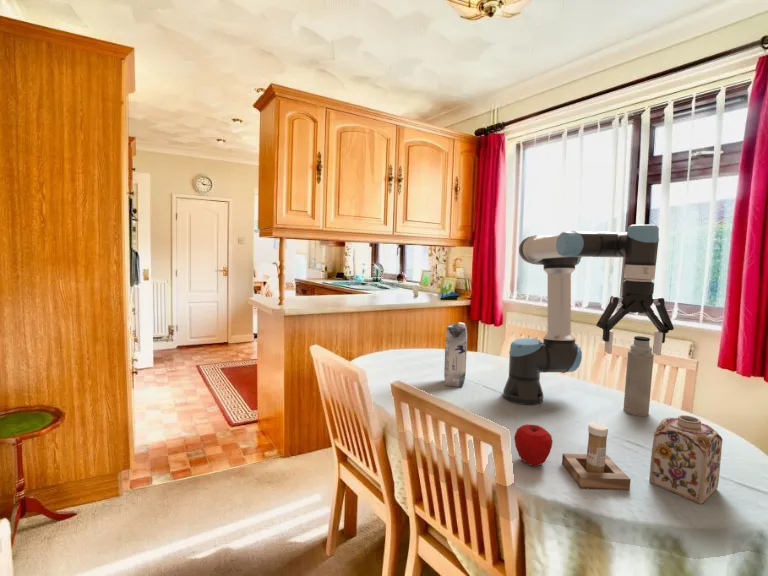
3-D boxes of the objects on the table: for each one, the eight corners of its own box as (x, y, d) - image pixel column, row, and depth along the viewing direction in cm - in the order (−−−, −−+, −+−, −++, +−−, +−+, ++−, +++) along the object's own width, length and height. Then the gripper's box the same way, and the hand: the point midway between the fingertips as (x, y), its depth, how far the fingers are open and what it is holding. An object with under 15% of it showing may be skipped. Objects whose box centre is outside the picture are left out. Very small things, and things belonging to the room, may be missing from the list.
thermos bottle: (620, 406, 158) (626, 334, 155) (644, 408, 156) (650, 335, 153) (626, 414, 150) (633, 338, 147) (651, 417, 148) (658, 340, 145)
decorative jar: (702, 506, 98) (709, 433, 96) (647, 482, 107) (653, 415, 105) (719, 489, 105) (726, 420, 103) (666, 468, 114) (672, 405, 112)
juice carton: (443, 386, 177) (445, 324, 174) (445, 378, 187) (447, 319, 184) (464, 388, 175) (466, 325, 172) (465, 380, 185) (467, 320, 182)
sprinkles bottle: (581, 470, 111) (584, 422, 110) (597, 469, 112) (601, 421, 110) (591, 479, 107) (595, 429, 105) (608, 479, 107) (612, 429, 106)
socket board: (561, 463, 116) (562, 453, 115) (605, 465, 115) (606, 454, 115) (580, 488, 104) (581, 477, 103) (629, 490, 103) (630, 479, 103)
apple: (507, 462, 116) (509, 424, 115) (523, 450, 123) (525, 415, 122) (541, 476, 109) (543, 436, 108) (556, 463, 116) (559, 426, 115)
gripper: (599, 280, 114) (593, 355, 117) (693, 282, 113) (685, 358, 115) (587, 277, 121) (582, 348, 124) (676, 279, 120) (668, 351, 123)
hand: (632, 353), depth 120 cm, fingers open, 13 cm apart
